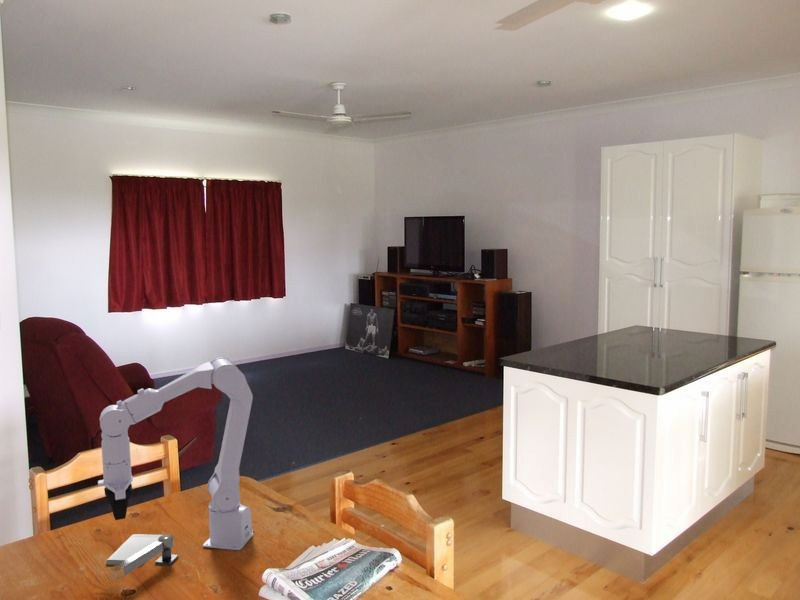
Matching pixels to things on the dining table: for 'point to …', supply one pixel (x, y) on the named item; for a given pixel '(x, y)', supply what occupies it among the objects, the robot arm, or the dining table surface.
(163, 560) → the grey small stand
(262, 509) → the dining table surface
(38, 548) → the dining table surface
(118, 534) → the dining table surface
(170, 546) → the grey long bar
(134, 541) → the hard drive
